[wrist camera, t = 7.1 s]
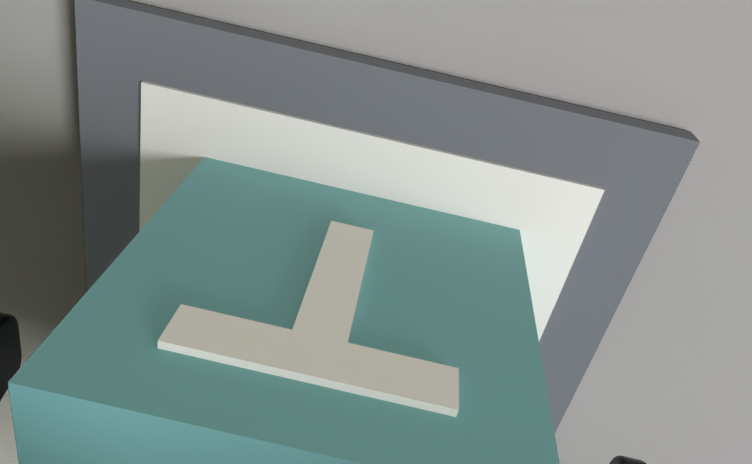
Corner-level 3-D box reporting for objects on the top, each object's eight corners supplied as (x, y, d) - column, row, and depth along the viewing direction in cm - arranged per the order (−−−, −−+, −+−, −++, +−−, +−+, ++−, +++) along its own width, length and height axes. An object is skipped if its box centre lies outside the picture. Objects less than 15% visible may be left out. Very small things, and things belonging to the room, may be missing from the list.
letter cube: (440, 446, 12) (430, 764, 8) (188, 388, 12) (41, 675, 8) (521, 224, 10) (573, 513, 5) (205, 150, 10) (-1, 381, 5)
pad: (505, 512, 14) (507, 532, 13) (101, 419, 14) (90, 436, 13) (690, 131, 9) (701, 143, 9) (88, -9, 9) (71, -4, 9)
